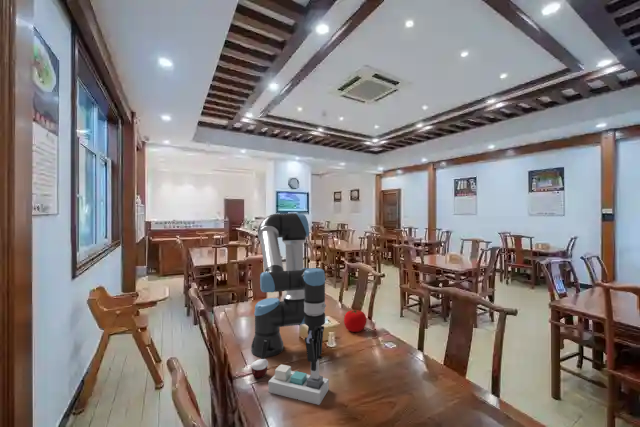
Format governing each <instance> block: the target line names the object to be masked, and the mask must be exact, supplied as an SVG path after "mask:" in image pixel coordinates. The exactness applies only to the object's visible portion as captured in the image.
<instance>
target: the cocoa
mask: <svg viewBox="0 0 640 427" xmlns="http://www.w3.org/2000/svg"><path fill="white" fill-rule="evenodd" d="M266 347H267V341H265V340H264V342H263V349H262V355H261V357H260V359H259V358H258V359H257V360H255V361H252V363H251V365H250V367H251V373H252V375H253V377H254V378H257V379H260V378H263V377H264V376H266V374H267V372H268V365H269V361H268V359H266V357H265V354H266Z"/></svg>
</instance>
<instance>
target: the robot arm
mask: <svg viewBox="0 0 640 427" xmlns="http://www.w3.org/2000/svg"><path fill="white" fill-rule="evenodd" d="M308 221H309V220H308V218H307V216H306V215H305V214H303V213H272V214H270V215H268V216H266V217H265V218H264V219H263V220H262V221H260V222H261V223H260V224H259V225H258V229H257V237H258V240H259V241H260V244H261V245H260V247H261V254H262V263H263V264H262V265H263V272H260V274H259V284H260V287H259V288H260V291H261V292H262V293H278V292H285V295H284V296H283V300H281V301H280V299H279V298H278V297H270V298H264V299H262V300H259V301H257V303H256V304H255V306H254V314H253V315H254V335H253V339H252V342H251V347H250V351H251V354H252V355H254V356H256V357H260V358H261V355H262V349H263V342H264V340H265V341H267V347H266V354H265V358H269V357H273V356H277V355H279V354H280V353H282V352H283V351H284V341H283V338H282V335H281V332H280V329H281V328H283V327H292V326H302V325H305V326H307V337H304V343H305V350H306V356H307V362H309V363H310V375H311V378H313V379H317V380H318V379H319V376H320V360H322V358H323V356H321V355H322V353H323V341H324V330H325V326H324V325H325V324H326V313H325V311H326V307H327V304H326V274H325V270H324V269H323V268H318V267H315V268H314V267H313V268H309V267H304V243H305V242H306V241H307V240H306V239H307V237H309V235H310V225H309V222H308ZM278 238H282V239H281V240H282V242H283V244H284V245H285V270H284V265H283V264H284V263H283V260H282V255H281V249H280V246H279V245H280V244H279V239H278Z"/></svg>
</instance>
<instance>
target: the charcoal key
mask: <svg viewBox="0 0 640 427" xmlns="http://www.w3.org/2000/svg"><path fill="white" fill-rule="evenodd" d="M323 378H324V376H323V375H319V379H318V380H317V379H313V378H311V376H310V377H309V378H308V379H307V387H310V388H314V389H318V390H319V389H320V388H321V386H322V385H323Z"/></svg>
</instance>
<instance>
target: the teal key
mask: <svg viewBox="0 0 640 427" xmlns="http://www.w3.org/2000/svg"><path fill="white" fill-rule="evenodd" d="M294 372H295V373H294V374H293V375H292V376H291V383H293V384H297V385H301V386H302V385H303V384H304V383H305V382H306V380H307V374H308V373H306V372H301V371H298V370H296V371H294Z"/></svg>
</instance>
